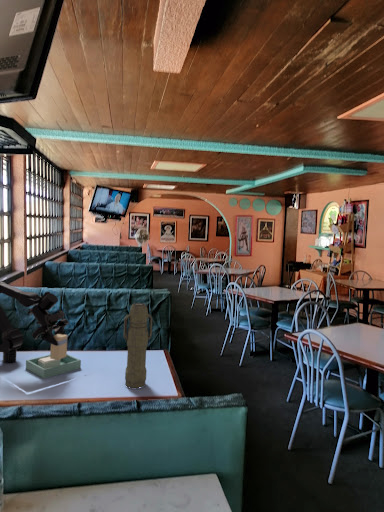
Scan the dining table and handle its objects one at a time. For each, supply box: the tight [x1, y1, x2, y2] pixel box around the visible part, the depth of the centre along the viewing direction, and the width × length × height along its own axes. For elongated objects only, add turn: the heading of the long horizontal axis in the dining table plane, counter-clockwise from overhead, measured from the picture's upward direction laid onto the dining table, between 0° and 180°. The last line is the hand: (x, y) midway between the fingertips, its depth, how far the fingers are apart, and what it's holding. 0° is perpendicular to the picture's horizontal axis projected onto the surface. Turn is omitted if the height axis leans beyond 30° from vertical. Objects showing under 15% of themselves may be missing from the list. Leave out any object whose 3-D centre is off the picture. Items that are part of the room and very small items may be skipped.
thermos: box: [123, 302, 153, 389], centre depth 153 cm, size 9×12×35 cm
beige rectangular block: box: [38, 357, 60, 369], centre depth 168 cm, size 6×8×3 cm
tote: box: [25, 353, 82, 379], centre depth 166 cm, size 16×18×4 cm
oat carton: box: [49, 333, 68, 360], centre depth 163 cm, size 4×6×10 cm
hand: (61, 343), depth 163 cm, fingers closed on oat carton, 5 cm apart
